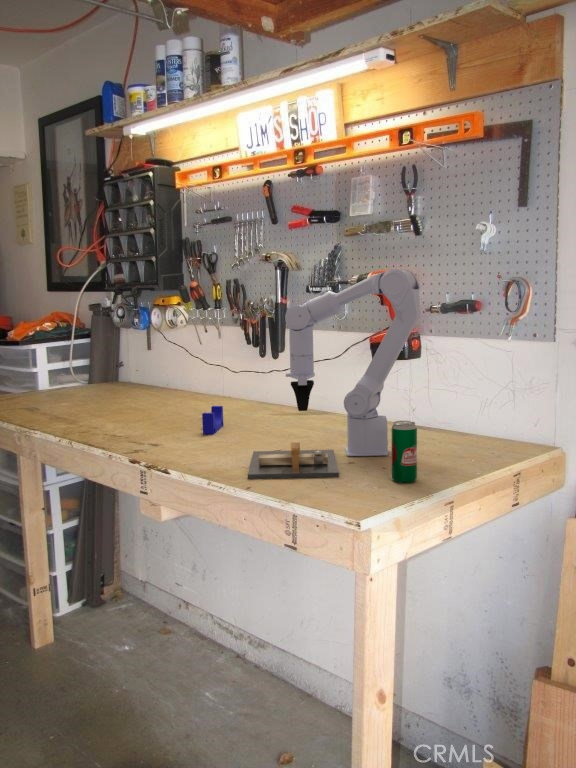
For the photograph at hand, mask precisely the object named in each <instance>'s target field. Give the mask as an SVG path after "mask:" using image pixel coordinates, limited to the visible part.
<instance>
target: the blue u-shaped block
mask: <svg viewBox="0 0 576 768" xmlns="http://www.w3.org/2000/svg"><path fill="white" fill-rule="evenodd" d="M210 408H211V412H203V413H201V414H202V415H201V416H202V417H201V418H202V419H201V421H202V435H203V436H204V435H205V436H206V435H213V436H214V435H215V434H216V433H218V431H219V430H221V429H222V428H223V427H224V406H223V405H212V406H211V407H210Z"/></svg>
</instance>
